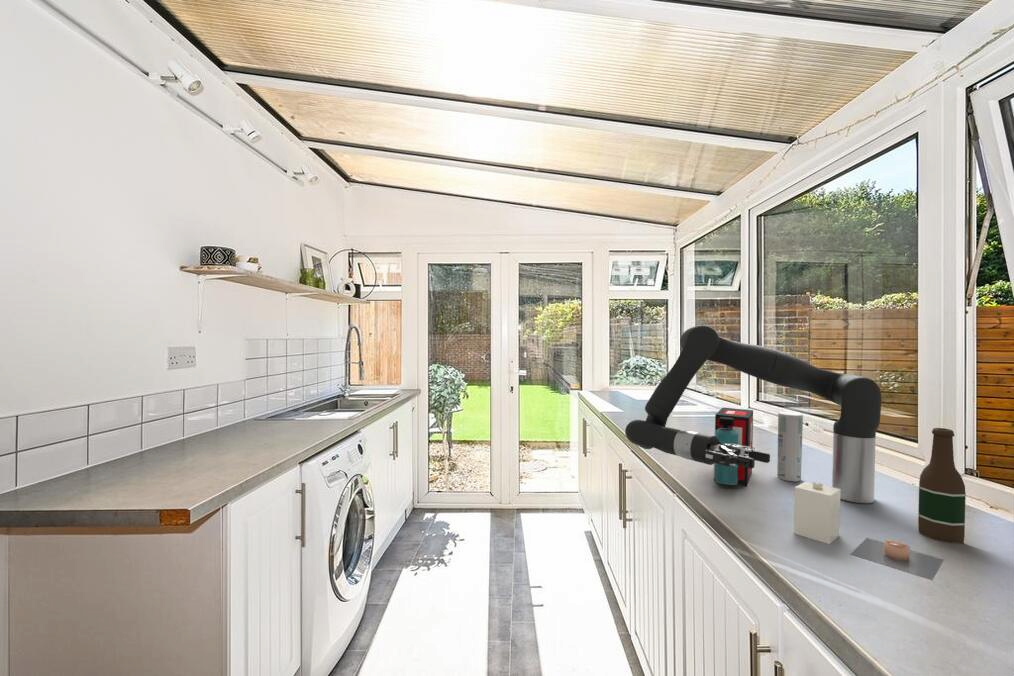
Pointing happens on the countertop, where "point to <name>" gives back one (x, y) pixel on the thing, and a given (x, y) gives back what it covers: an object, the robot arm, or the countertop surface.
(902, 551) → the ramekin
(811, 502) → the knobbed cream block
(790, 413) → the spray can
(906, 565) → the slate coaster
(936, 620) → the countertop surface
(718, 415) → the cleaning product box
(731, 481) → the beverage bottle
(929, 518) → the beer bottle
